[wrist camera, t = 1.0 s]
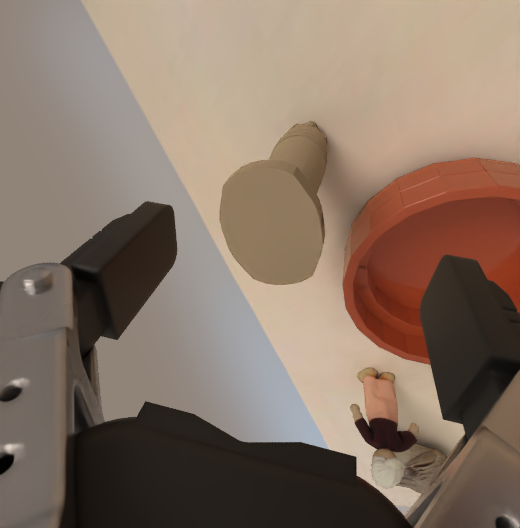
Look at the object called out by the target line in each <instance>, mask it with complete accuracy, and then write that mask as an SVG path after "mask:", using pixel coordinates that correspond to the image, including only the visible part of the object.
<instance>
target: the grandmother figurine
mask: <svg viewBox="0 0 520 528" xmlns="http://www.w3.org/2000/svg"><path fill="white" fill-rule="evenodd" d="M376 375H377V371H376V370H374V369H372V368H367V369H365V370H363V371H362V372H360V373H359V374H358V378H359V380H360V381H361V382H362V383H364V393H365V405H366V414H367V417H368V421H369V426H370V427H369V426H368V424H367V422H366V421H365V419H364V418H363V416H362V413H361V412H360V408H359V406H358V405H357V404H352V405H351V407H350V409H351V412H352V413H353V418H354V421H355V425H356V427H357V428H358V430H359V432H360V433H361V435H362V437H363V438H364V440H365V441H366V442H367V443H368V444H369V445H371V446H373V447H374V448H376V449H378V450H377V451H375V453H374V455H373V458H372V464H371V466H372V467H371V473H372V478H373V480H374V481H375V483H376V484H377V485H379V486H382V487H383V488H392V487H394V486H396V485H397V484H399V483H400V480H401V479H402V477H403V475H404V468H405V467H406V466H405V465H404V463H403V461H402V460H401V459H398V458H397V457H396V455H395V454H394V453H393V452H404V451H406V450H408V449H409V448H411V447H412V446H413V445H414V444H415V443H416V442H417V439H416V437H417V433H418V431H419V427H418V426H417V425H416V424H413V423H412V424H410V426H409V429H408V430H407V431H397V427H398V409H397V400H396V395H395V388H394V385H393V383H394V379H395V376H394V375H393V374H392V373H387V372H386V373H383V374H382V375H381V376H380V377H379V378H378V379H376V378H375V377H376Z"/></svg>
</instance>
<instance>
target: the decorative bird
mask: <svg viewBox="0 0 520 528" xmlns="http://www.w3.org/2000/svg"><path fill="white" fill-rule="evenodd" d="M393 453H394V454H395V455H396V457H397V458H398V459H401V460H402V461H403V463H404V465H405V466H406V467H405V468H404V475H403V477H402V479H401V480H400V483H399V484H397V485H396V486H403V487H407V488H411V489H412V490H414V491H416V492H418V493H421V494H422V493H423V491H424V490H425V489H426V487H427V486H428V484H429V483H430V482H431V480H432V479H433V477H434V476H435V474H436V473H437V472H438V470H439V469H440V467H441V466H442V464H443V463H444V462H445V460H446V459H447V458H446V457H445V456H444V455H443V454H442V453H441V452H440V451H438V450H437V449H430V448H427V447H424V446H421V445H417V444H414V445H413V446H412V447H411V448H409V449H408V450H406V451H404V452H393Z"/></svg>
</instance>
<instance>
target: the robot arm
mask: <svg viewBox="0 0 520 528" xmlns="http://www.w3.org/2000/svg"><path fill="white" fill-rule="evenodd" d="M176 255H177V241H176V229H175V218H174V211H173V208H172V206H170V205H165V204H159V203H154V202H148V201H147V202H145V203H143V204H142V205H141V206H140V207H138V208H137V209H136V210H135V211H134V212H133V213H131V214H127V215H125V216H122V217H120V218H117V219H115V220H113V221H112V222H110V223H109V224H108V225H107V226H105V227H104V228H103V229H102V231H99V232H98V233H97V234H95V235H94V236H93V239H89V240H88V241H87V242H86V243H84V244H83V245H82V246H81V247H79V248H78V249H77V250H76V251H74V252H73V253H72V254H71V255H70V256H69V257H67V258H66V259H65V260H63V261H62V262H61V263H60V264H58V263H40V264H35V265H31V266H28V267H25V268H23V269H21V270H18V271H17V272H15V273H13V274H12V275H11V276H9V277H8V278H7V279H6V280H5V281H4V282H0V528H520V314H519V313H518V312H517V308H516V307H515V305H514V303H513V301H512V300H511V298H510V296H509V295H508V294H507V293H506V292H505V291H504V290H503V289H502V288H500V287H499V286H498V285H497V284H496V283H495V282H494V281H490V280H487V278H486V276H485V274H484V272H483V270H482V268H481V266H480V264H479V263H478V261H477V260H475V259H470V258H464V257H458V256H453V255H444V256H443V257H442V258H441V260H440V262H439V264H438V266H437V268H436V270H435V272H434V274H433V276H432V278H431V280H430V282H429V284H428V287H427V289H426V291H425V293H424V295H423V297H422V300H421V304H420V320H421V324H422V329H423V333H424V337H425V342H426V346H427V351H428V355H429V359H430V364H431V368H432V373H433V377H434V381H435V386H436V390H437V395H438V399H439V403H440V408H441V412H442V417H443V419H444V420H448V421H452V422H456V423H460V424H463V426H464V430H465V434H464V436H463V437H462V438H461V439H460V440H459V442H458V443H457V445H456V446H455V447H454V449H453V450H452V452H451V453H450V455H449V456H448V457H447V459H446V460H445V462H444V463H443V464H442V466H441V467H440V469H439V470H438V472H437V473H436V474H435V476H434V477H433V479H432V480H431V482H430V483H429V484H428V486H427V487H426V489H425V490H424V491H423V493H422V494H421V496H420V497H419V498H418V500H417V501H416V502H415V503H414V505H413V506H412V507H411V508H410V510H409V511H408V513H407V514H406V515H405V516H404V515H403V514H402V513H401V512H400V511H399V510H398V509H397V508H396V507H395V505H394V504H393V503H392V502H391V501H390V500H389V499H388V498H386V497H385V496H384V495H383V494H382V493H381V492H380V491H379V490H377V489H376V488H375V487H373V486H372V485H371V484H369V483H368V482H366V481H365V480H363V479H362V478H360V477H358V476H356V457H355V456H351V455H347V454H343V453H340V452H336V451H332V450H328V449H324V448H321V447H317V446H313V445H309V444H305V443H302V442H284V443H283V442H274V443H273V442H272V443H271V442H267V443H266V442H265V443H262V442H261V443H260V442H259V443H258V442H255V443H252V442H251V443H248V442H242V441H239V440H237V439H235V438H234V437H232V436H230V435H229V434H227V433H225V432H224V431H222V430H220V429H218V428H217V427H215V426H213V425H212V424H210V423H208V422H207V421H205V420H203V419H201V418H200V417H198V416H196V415H195V414H191V413H188V412H184V411H180V410H176V409H173V408H169V407H165V406H161V405H157V404H153V403H150V402H145V403H144V405H143V407H142V409H141V410H140V412H139V414H138V416H137V417H128V418H121V419H115V420H112V421H107V422H105V421H104V417H103V413H102V406H101V396H100V384H99V373H98V360H97V350H96V346H95V343H96V341H97V340H98V339H99V338H100V336H104V337H107V338H111V339H116V340H118V338H119V337H120V336H121V334H122V333H123V332H124V330H125V329H126V328H127V326H128V325H129V324H130V322H131V321H132V319H133V318H134V317H135V316H136V314H137V313H138V312H139V310H140V309H141V308H142V306H143V305H144V304H145V302H146V301H147V300H148V298H149V297H150V296H151V294H152V293H153V292H154V290H155V289H156V288H157V286H158V285H159V284H160V282H161V281H162V280H163V278H164V277H165V276H166V274H167V273H168V272H169V270H170V269H171V268H172V266H173V264H174V262H175V259H176Z"/></svg>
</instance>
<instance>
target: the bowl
mask: <svg viewBox="0 0 520 528" xmlns="http://www.w3.org/2000/svg"><path fill="white" fill-rule="evenodd" d="M444 255H453V256H458V257H464V258H470V259H475V260H477V261H478V263H479V264H480V266H481V268H482V270H483V272H484V274H485V276H486V278H487V280H490V281H494V282H495V283H496V284H497V285H498V286H499V287H500V288H502V289H503V290H504V291H505V292H506V293H507V294H508V295H509V296H510V298H511V300H512V301H513V303H514V305H515V307H516V308H517V312H518V313H519V314H520V165H518V164H515V163H510V162H503V161H496V160H489V159H482V158H470V159H462V160H455V161H448V162H441V163H435V164H431V165H429V166H426V167H424V168H421V169H419V170H417V171H414V172H412V173H410V174H407V175H405V176H402V177H400V178H398V179H396V180H395V181H393V182H392V183H391V184H389V185H388V186H387V187H386V188H384V189H383V190H382V191H380V192H379V193H378V194H377V195H375V196H374V197H373V198H371V199H370V200H369V201H368V202H367V204H366V205H365V207H364V208H363V209H362V211H361V212H360V214H359V215H358V217H357V218H356V219H355V221H354V222H353V224H352V226H351V228H350V232H349V236H348V239H347V243H346V246H345V251H344V269H343V290H344V298H345V306H346V309H347V311H348V313H349V315H350V316H351V318H352V320H353V322H354V323H355V325H356V327H357V328H358V329H359V330H360V331H361V332H362V333H363V334H364V335H365V336H367V337H368V338H369V339H370V340H371V341H372V342H374V343H375V344H376V345H377V346H378V347H380V348H382V349H384V350H387V351H389V352H391V353H393V354H395V355H397V356H399V357H401V358H404V359H407V360H412V361H416V362H420V363H425V364H429V365H431V364H430V359H429V355H428V351H427V346H426V342H425V337H424V333H423V329H422V324H421V320H420V304H421V300H422V297H423V295H424V293H425V291H426V289H427V287H428V284H429V282H430V280H431V278H432V276H433V274H434V272H435V270H436V268H437V266H438V264H439V262H440V260H441V258H442V257H443V256H444Z"/></svg>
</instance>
